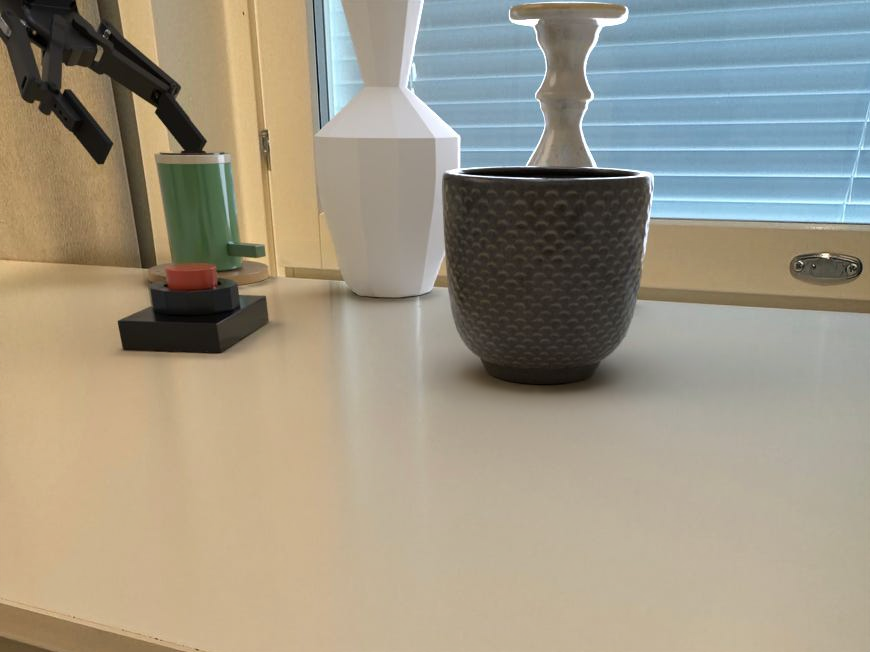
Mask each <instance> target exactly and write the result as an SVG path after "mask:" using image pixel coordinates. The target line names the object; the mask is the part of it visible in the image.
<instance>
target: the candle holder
mask: <svg viewBox="0 0 870 652" xmlns="http://www.w3.org/2000/svg"><path fill="white" fill-rule="evenodd" d="M508 17H509V18H508V19H509V21H510V22H511V23H514V24H516V25H521V26H529V27H532V28H533V29H534V32H535V35H536V42H537V45H538V46H539V48H540V49H541V52H542V53H543V56H544V60H545V61H544V62H545V74H544V77H543V80H542V82H541V84H540V87H539V88H538V89H537V90H536V92H535V99H536V100H537V101H538V102H539V105H540V106H539V107H540V110H541V112H542V115H543V120H544V129H543V132H542V134H541V137H540V139H539V141H538V144H537V145H536V147H535V149H534V151H533V152H532V154H531V156H530V157H529V159H528V161H527V162H526V165H525V166H558V167H594V168H598V167H597V163H596V162H595V160H594V158H593V155H592V154H591V151H590V149H589V147H588V145H587V143H586V139H585V137H584V133H583V129H582V124H583V123H582V122H583V118H584V116H585V114H586V111H587V110H588V107H589V103H590V102H591V101H593V99H594V96H595V94H594V92H593V90H592V88H591V86H590V85H589V81H588V79H587V74H586V69H587V64H588V63H587V62H588V58H589V56H590V53H591V52H592V50H593V49H594V48H595V46H596V45H597V43H598V40H599V34H600V32H601V30H602V28H603V27H607V26H615V25H620V24H623V23H625V22H626V21H627V20H628V17H629V9H628V7H627V6H625V5H621V4H616V3H608V2H605V3H604V2H592V1H590V2H589V1H552V2H551V1H549V2H548V1H547V2H531V3H524V4H523V3H522V4H517V5H513V6H511V7H510V8H509V11H508Z"/></svg>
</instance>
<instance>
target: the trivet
mask: <svg viewBox="0 0 870 652" xmlns="http://www.w3.org/2000/svg"><path fill="white" fill-rule="evenodd" d="M169 265H172V262H168V263H162V264H158V265H154V266H152V267H149V268H148V269H147V275H148V280H149V282H150V283H151V284H152V283H155V282H157V281H163V280H166V274H165V267H166V266H169ZM269 277H270V271H269V265H268V264H267V263H263V262H259V261H255V260H245V259H243V266H242V267H239V268H235V269H230V270H221V271H217V278H224V279H230V280H234V281H235V282H236V283H237V284H238V286H244V285H249V284H254V283H258V282H262V281H265V280H268V278H269Z"/></svg>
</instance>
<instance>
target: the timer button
mask: <svg viewBox="0 0 870 652" xmlns="http://www.w3.org/2000/svg"><path fill="white" fill-rule="evenodd" d="M165 274H166V280H167V286H168V288H172V289H202V288H210V287H216V286H218V279H217V271H216V266H215V265H212V264H206V263H184V264H175V265H169V266H166V267H165Z"/></svg>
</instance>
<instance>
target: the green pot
mask: <svg viewBox="0 0 870 652" xmlns="http://www.w3.org/2000/svg"><path fill="white" fill-rule="evenodd" d="M231 156H232V155H231V153H229V152H225V151H224V150H223V151H222V150H202V151H184V150H164V151H159V152H157V153H154V162H155V164H156V172H157V179H158V184H159V190H160V195H161V202H162V203H161V204H162V208H163V214H164V221H165V227H166V228H165V229H166V235H167V239H168V245H169V251H170V259H171V263H172V265H175V264H184V263H206V264H212V265H215V266H216V271H221V270H230V269H235V268H239V267H242V266H243V260H244V259H243V258H250V259H259V258H265V257H266V256H267V255H266V247H265V244H263V243H251V242H241V234H240V226H239V217H238V210H237V200H236V193H235V186H234V185H235V184H234V177H233V168H232V157H231Z"/></svg>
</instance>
